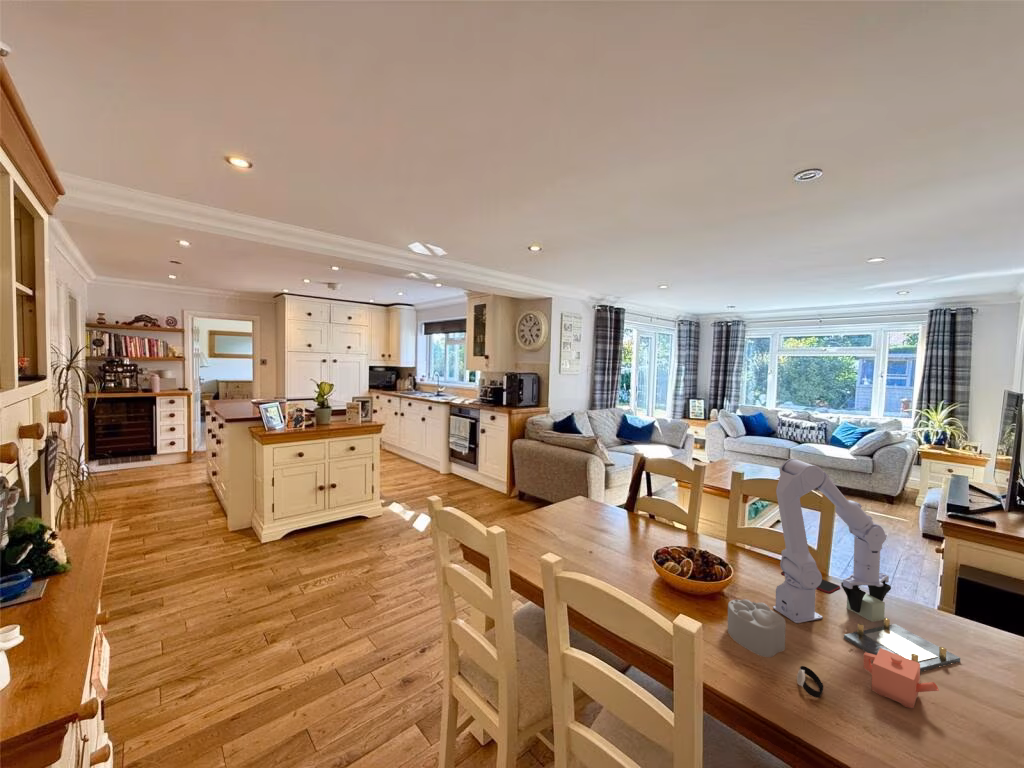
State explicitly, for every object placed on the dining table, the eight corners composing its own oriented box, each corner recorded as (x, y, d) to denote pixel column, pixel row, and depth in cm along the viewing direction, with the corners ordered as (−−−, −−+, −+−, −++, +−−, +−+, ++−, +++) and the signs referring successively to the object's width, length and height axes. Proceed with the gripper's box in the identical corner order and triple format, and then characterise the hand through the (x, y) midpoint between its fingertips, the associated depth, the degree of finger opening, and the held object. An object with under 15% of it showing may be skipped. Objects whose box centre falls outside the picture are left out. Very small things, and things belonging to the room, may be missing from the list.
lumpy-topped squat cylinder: (765, 660, 103) (766, 625, 103) (717, 631, 115) (718, 599, 114) (790, 647, 108) (791, 613, 108) (742, 620, 120) (742, 590, 119)
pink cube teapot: (935, 723, 85) (936, 683, 84) (859, 688, 94) (860, 652, 94) (940, 703, 90) (941, 666, 89) (867, 672, 99) (868, 638, 99)
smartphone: (791, 567, 149) (841, 586, 136) (791, 569, 149) (841, 589, 136) (779, 572, 146) (829, 592, 133) (779, 574, 146) (829, 595, 133)
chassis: (904, 675, 98) (905, 661, 98) (843, 638, 111) (844, 625, 111) (960, 661, 102) (960, 647, 102) (894, 627, 116) (895, 614, 116)
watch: (793, 673, 99) (793, 657, 99) (817, 678, 97) (817, 663, 97) (801, 696, 92) (802, 680, 92) (827, 703, 90) (828, 686, 90)
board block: (872, 622, 118) (872, 604, 118) (846, 608, 125) (847, 591, 125) (884, 619, 119) (884, 602, 119) (858, 606, 126) (858, 589, 126)
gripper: (861, 572, 116) (860, 620, 116) (901, 565, 120) (899, 612, 120) (836, 560, 123) (835, 606, 123) (874, 554, 126) (872, 599, 127)
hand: (865, 608), depth 122 cm, fingers open, 7 cm apart
